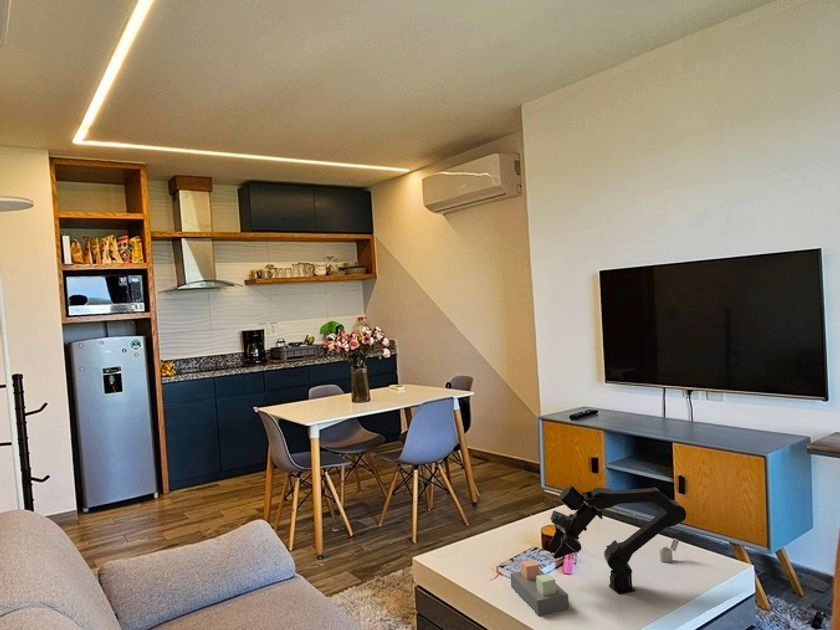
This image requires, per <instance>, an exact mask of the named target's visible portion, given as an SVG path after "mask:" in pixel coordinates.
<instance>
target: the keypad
mask: <svg viewBox="0 0 840 630" xmlns="http://www.w3.org/2000/svg"><path fill="white" fill-rule="evenodd" d="M544 574H546V573H545V572H544V571H543V570H542V569H540V568H539V575H544ZM509 575H510V588H511V587H512V588H513V589H514V590H515V591H514V590H513V589H512V588H511V589H512V590H513V591H514V592H515V593H516V594H517V593H518V594H517V595H518V596H519V597H520V599H522V600H523V601H524V602H526V603H527V604H528V605H529V606H530V607H531V608H532V609H533V610H534V611H535V612H534V611H533V610H532V609H531V608H530V607H529V606H528V605H527V604H526V603H525V604H526V605H527V606H528V607H529V608H530V609H531V610H532V611H533V612H534V613H535V614H536V616H538V617H540V616H539V615H541V616H545V615H544V614H546V615H549V613H550V614H555V613H558V612H564V611H567V610H570V607H569V606H570V605H569V594H568V592H566V590H564V589H563V588H562V587H561V586H559V584H557V582H555V586H556V594H552V595H547V596H542V595H541V594H540V593H539V592H538V591H537V585H536V579H533V580H527V581H526V580H525V579H524V578H523V577H522V576H521V570H520V571H516V572H511V573H510V574H509Z"/></svg>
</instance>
